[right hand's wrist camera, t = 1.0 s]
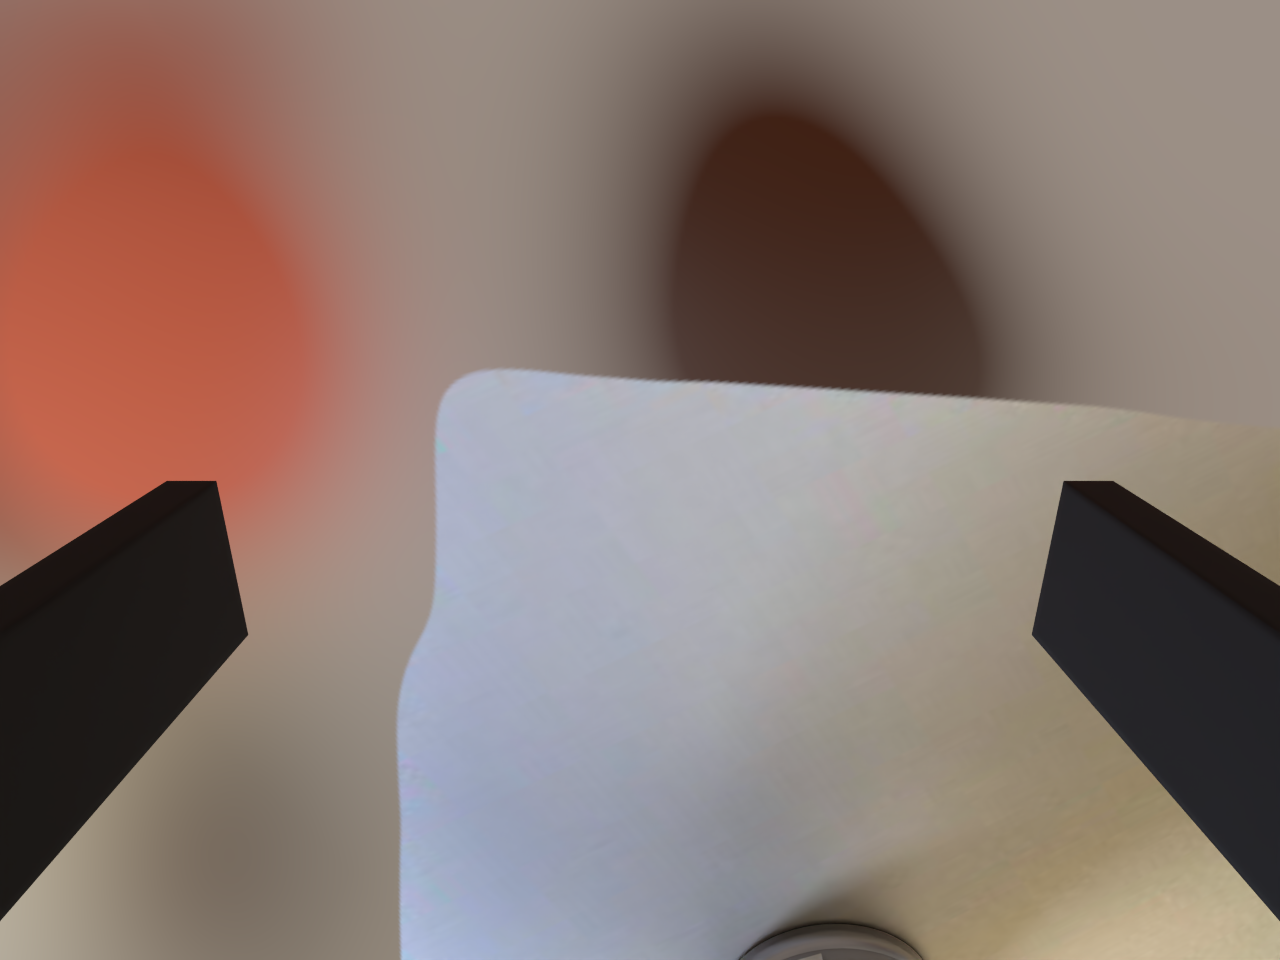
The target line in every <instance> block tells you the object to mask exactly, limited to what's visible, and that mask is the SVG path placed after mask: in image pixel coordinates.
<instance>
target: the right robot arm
mask: <svg viewBox="0 0 1280 960" xmlns="http://www.w3.org/2000/svg"><path fill="white" fill-rule="evenodd" d="M247 636H248V632H247V627H246V622H245V617H244V612H243V608H242V603H241V598H240V593H239V588H238V583H237V579H236V574H235V569H234V564H233V559H232V554H231V550H230V545H229V540H228V535H227V531H226V525H225V521H224V516H223V511H222V506H221V501H220V497H219V492H218V487H217V482H216V481H166V482H165V483H163V484H161V485H160V486H158V487H157V488H155V489H154V490H152V491H150V492H149V493H147V494H146V495H144V496H142V497H141V498H139V499H138V500H136V501H134V502H133V503H131V504H130V505H128V506H126V507H125V508H123V509H122V510H120V511H119V512H117V513H115V514H114V515H112V516H111V517H109V518H107V519H106V520H104V521H103V522H101V523H100V524H98V525H96V526H95V527H93V528H92V529H90V530H88V531H87V532H85V533H84V534H82V535H81V536H79V537H77V538H76V539H74V540H73V541H71V542H69V543H68V544H66V545H65V546H63V547H61V548H60V549H58V550H57V551H55V552H54V553H52V554H50V555H49V556H47V557H46V558H44V559H42V560H41V561H39V562H38V563H36V564H35V565H33V566H31V567H30V568H28V569H27V570H25V571H24V572H22V573H20V574H19V575H17V576H16V577H14V578H12V579H11V580H9V581H8V582H6V583H4V584H3V585H1V586H0V921H1V919H2V918H3V917H4V916H5V915H6V914H7V912H8V911H9V910H10V909H11V908H12V907H13V906H14V904H15V903H16V902H17V901H18V900H19V899H20V897H21V896H22V895H23V894H24V893H25V892H26V891H27V889H28V888H29V887H30V886H31V885H32V884H33V882H34V881H35V880H36V879H37V878H38V877H39V876H40V874H41V873H42V872H43V871H44V870H45V869H46V867H47V866H48V865H49V864H50V863H51V862H52V861H53V859H54V858H55V857H56V856H57V855H58V854H59V853H60V851H61V850H62V849H63V848H64V847H65V846H66V844H67V843H68V842H69V841H70V840H71V839H72V838H73V836H74V835H75V834H76V833H77V832H78V831H79V829H80V828H81V827H82V826H83V825H84V824H85V822H86V821H87V820H88V819H89V818H90V817H91V816H92V814H93V813H94V812H95V811H96V810H97V809H98V807H99V806H100V805H101V804H102V803H103V802H104V801H105V799H106V798H107V797H108V796H109V795H110V794H111V792H112V791H113V790H114V789H115V788H116V787H117V786H118V784H119V783H120V782H121V781H122V780H123V779H124V777H125V776H126V775H127V774H128V773H129V772H130V771H131V769H132V768H133V767H134V766H135V765H136V764H137V762H138V761H139V760H140V759H141V758H142V757H143V756H144V754H145V753H146V752H147V751H148V750H149V749H150V747H151V746H152V745H153V744H154V743H155V742H156V741H157V739H158V738H159V737H160V736H161V735H162V734H163V732H164V731H165V730H166V729H167V728H168V727H169V726H170V724H171V723H172V722H173V721H174V720H175V719H176V717H177V716H178V715H179V714H180V713H181V712H182V711H183V709H184V708H185V707H186V706H187V705H188V704H189V702H190V701H191V700H192V699H193V698H194V697H195V696H196V694H197V693H198V692H199V691H200V690H201V689H202V687H203V686H204V685H205V684H206V683H207V682H208V680H209V679H210V678H211V677H212V676H213V675H214V674H215V672H216V671H217V670H218V669H219V668H220V667H221V666H222V664H223V663H224V662H225V661H226V660H227V659H228V657H229V656H230V655H231V654H232V653H233V652H234V651H235V649H236V648H237V647H238V646H239V645H240V644H241V642H242V641H243V640H244V639H245V638H246V637H247ZM1032 636H1033V637H1034V638H1035V639H1036V640H1037V641H1038V642H1039V644H1040V645H1041V646H1042V647H1043V648H1044V649H1045V651H1046V652H1047V653H1048V654H1049V655H1050V656H1051V657H1052V659H1053V660H1054V661H1055V662H1056V663H1057V664H1058V666H1059V667H1060V668H1061V669H1062V670H1063V671H1064V672H1065V674H1066V675H1067V676H1068V677H1069V678H1070V679H1071V681H1072V682H1073V683H1074V684H1075V685H1076V686H1077V687H1078V689H1079V690H1080V691H1081V692H1082V693H1083V694H1084V696H1085V697H1086V698H1087V699H1088V700H1089V701H1090V702H1091V704H1092V705H1093V706H1094V707H1095V708H1096V709H1097V711H1098V712H1099V713H1100V714H1101V715H1102V716H1103V717H1104V719H1105V720H1106V721H1107V722H1108V723H1109V724H1110V726H1111V727H1112V728H1113V729H1114V730H1115V731H1116V732H1117V734H1118V735H1119V736H1120V737H1121V738H1122V739H1123V741H1124V742H1125V743H1126V744H1127V745H1128V746H1129V747H1130V749H1131V750H1132V751H1133V752H1134V753H1135V754H1136V756H1137V757H1138V758H1139V759H1140V760H1141V761H1142V762H1143V764H1144V765H1145V766H1146V767H1147V768H1148V769H1149V771H1150V772H1151V773H1152V774H1153V775H1154V776H1155V777H1156V779H1157V780H1158V781H1159V782H1160V783H1161V784H1162V786H1163V787H1164V788H1165V789H1166V790H1167V791H1168V792H1169V794H1170V795H1171V796H1172V797H1173V798H1174V799H1175V801H1176V802H1177V803H1178V804H1179V805H1180V806H1181V807H1182V809H1183V810H1184V811H1185V812H1186V813H1187V814H1188V816H1189V817H1190V818H1191V819H1192V820H1193V821H1194V822H1195V824H1196V825H1197V826H1198V827H1199V828H1200V829H1201V831H1202V832H1203V833H1204V834H1205V835H1206V836H1207V838H1208V839H1209V840H1210V841H1211V842H1212V843H1213V844H1214V846H1215V847H1216V848H1217V849H1218V850H1219V851H1220V853H1221V854H1222V855H1223V856H1224V857H1225V858H1226V859H1227V861H1228V862H1229V863H1230V864H1231V865H1232V866H1233V868H1234V869H1235V870H1236V871H1237V872H1238V873H1239V874H1240V876H1241V877H1242V878H1243V879H1244V880H1245V881H1246V883H1247V884H1248V885H1249V886H1250V887H1251V888H1252V889H1253V891H1254V892H1255V893H1256V894H1257V895H1258V896H1259V898H1260V899H1261V900H1262V901H1263V902H1264V903H1265V904H1266V906H1267V907H1268V908H1269V909H1270V910H1271V911H1272V913H1273V914H1274V915H1275V916H1276V917H1277V918H1278V919H1279V921H1280V586H1279V585H1277V584H1276V583H1274V582H1272V581H1271V580H1269V579H1268V578H1266V577H1264V576H1263V575H1261V574H1260V573H1258V572H1257V571H1255V570H1253V569H1252V568H1250V567H1249V566H1247V565H1245V564H1244V563H1242V562H1241V561H1239V560H1238V559H1236V558H1234V557H1233V556H1231V555H1230V554H1228V553H1226V552H1225V551H1223V550H1222V549H1220V548H1219V547H1217V546H1215V545H1214V544H1212V543H1211V542H1209V541H1207V540H1206V539H1204V538H1203V537H1201V536H1199V535H1198V534H1196V533H1195V532H1193V531H1192V530H1190V529H1188V528H1187V527H1185V526H1184V525H1182V524H1180V523H1179V522H1177V521H1176V520H1174V519H1173V518H1171V517H1169V516H1168V515H1166V514H1165V513H1163V512H1161V511H1160V510H1158V509H1157V508H1155V507H1154V506H1152V505H1150V504H1149V503H1147V502H1146V501H1144V500H1142V499H1141V498H1139V497H1138V496H1136V495H1134V494H1133V493H1131V492H1130V491H1128V490H1127V489H1125V488H1123V487H1122V486H1120V485H1119V484H1117V483H1115V482H1114V481H1064V482H1063V487H1062V492H1061V497H1060V501H1059V506H1058V511H1057V516H1056V521H1055V525H1054V530H1053V535H1052V540H1051V545H1050V550H1049V554H1048V559H1047V564H1046V569H1045V574H1044V579H1043V583H1042V588H1041V593H1040V598H1039V603H1038V607H1037V612H1036V617H1035V622H1034V627H1033V632H1032ZM740 960H923V959H922V958H921V957H920V956H919V955H918V954H917V953H916V952H915V951H914V950H913V949H912V948H911V947H910V946H908V945H907V944H906V943H904V942H903V941H901V940H899V939H898V938H896V937H894V936H892V935H889V934H887V933H885V932H882V931H879V930H876V929H872V928H869V927H864V926H858V925H850V924H822V925H813V926H807V927H802V928H798V929H794V930H791V931H788V932H785V933H782V934H779V935H777V936H775V937H772V938H770V939H768V940H767V941H765V942H763V943H761V944H760V945H758V946H756V947H755V948H753V949H752V950H751V951H749V952H748V953H747V954H746V955H745V956H744V957H742V958H741V959H740Z"/></svg>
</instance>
